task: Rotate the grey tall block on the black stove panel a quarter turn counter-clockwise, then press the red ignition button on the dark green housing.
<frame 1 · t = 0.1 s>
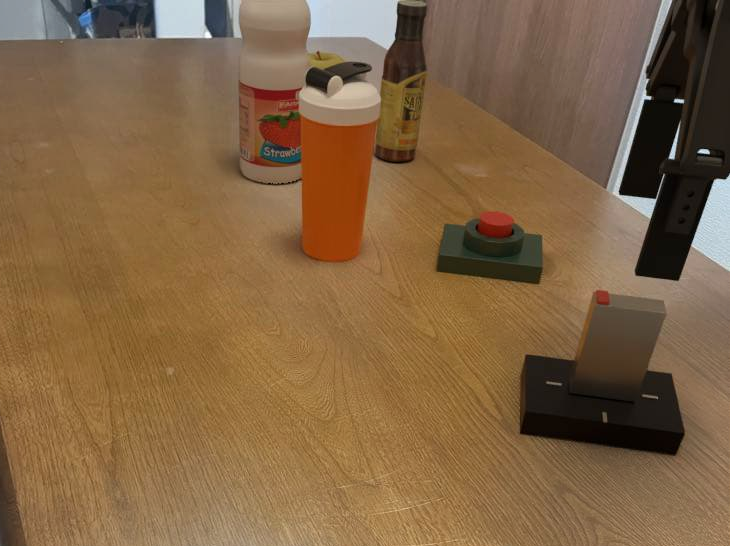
hand: (645, 232, 61), 22 cm above the table, tool pointing down, fingers open, 13 cm apart
shaker bottle: (331, 250, 105), on the table
ignite button: (495, 225, 102), point 4 cm above the table, slide at 0.1 cm
apple: (319, 105, 146), on the table
sauce bottle: (395, 157, 130), on the table
fruit juice: (273, 174, 123), on the table
grey tall block: (615, 347, 77), point 7 cm above the table, hinge at 0.0°
stove panel: (594, 413, 82), on the table
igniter: (488, 261, 105), on the table
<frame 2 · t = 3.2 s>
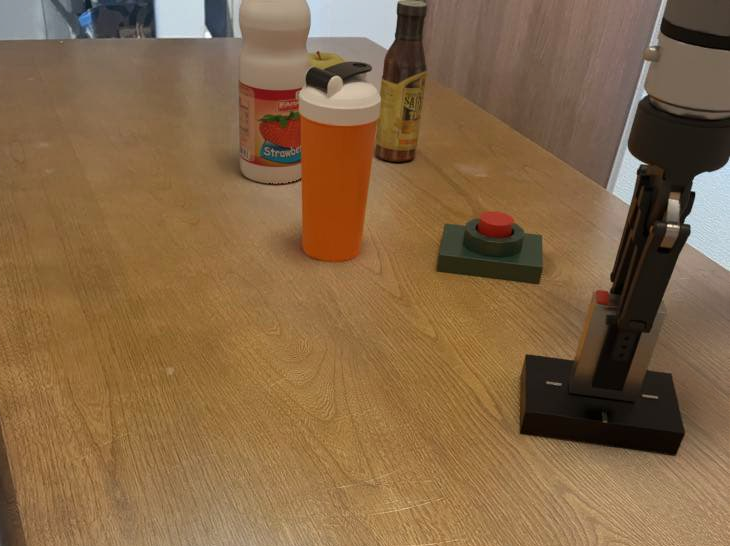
hand: (605, 377, 80), 4 cm above the table, tool pointing down, fingers closed on grey tall block, 2 cm apart
grey tall block: (615, 347, 77), point 7 cm above the table, hinge at 0.0°, touching gripper
everything else where it was.
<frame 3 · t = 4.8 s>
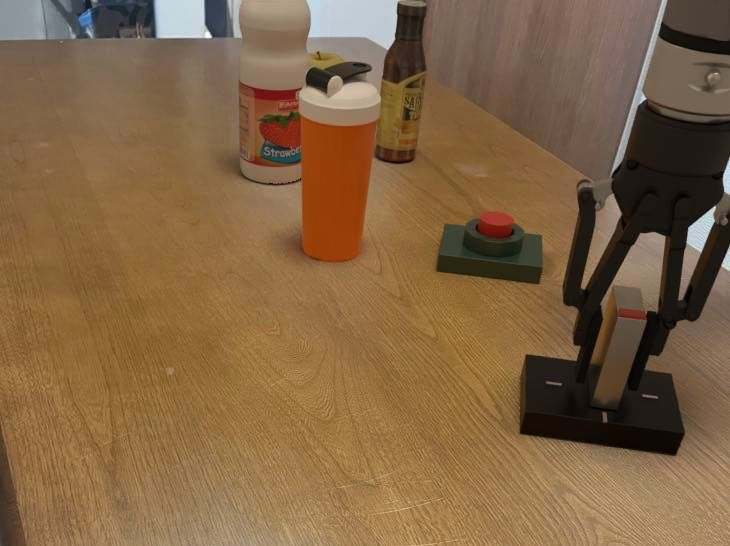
hand: (605, 378, 80), 4 cm above the table, tool pointing down, fingers open, 4 cm apart
grey tall block: (615, 347, 77), point 7 cm above the table, hinge at 89.9°
everything else where it was.
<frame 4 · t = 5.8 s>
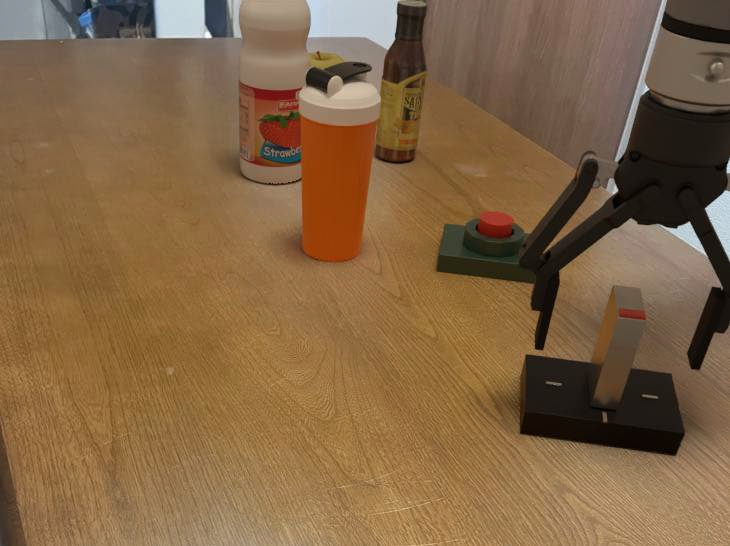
hand: (615, 352, 78), 7 cm above the table, tool pointing down, fingers open, 13 cm apart
nothing on the table moved.
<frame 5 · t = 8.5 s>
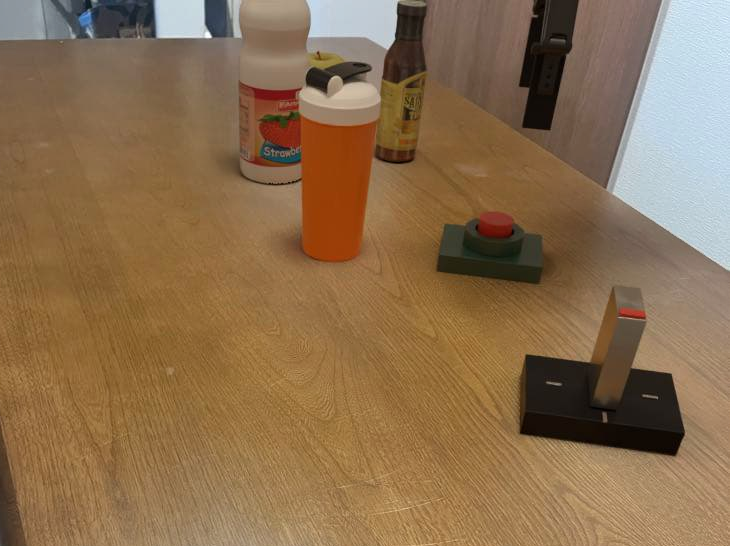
hand: (533, 106, 89), 19 cm above the table, tool pointing down, fingers open, 13 cm apart
nothing on the table moved.
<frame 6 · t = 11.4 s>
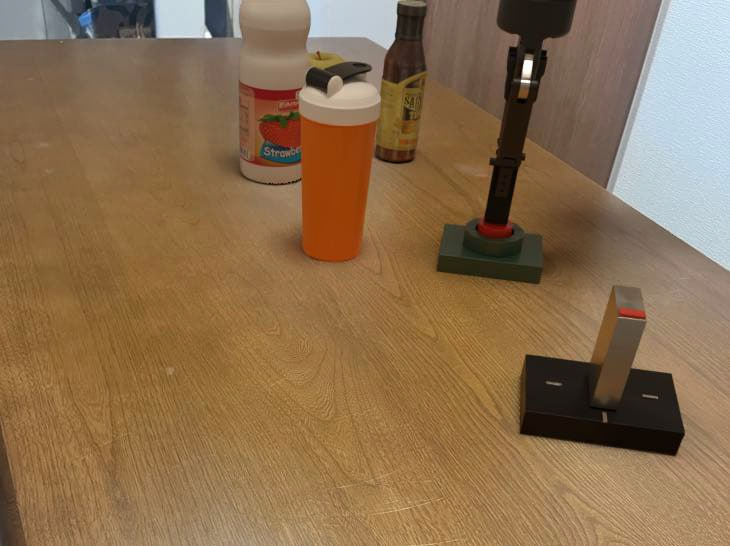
hand: (495, 220, 102), 5 cm above the table, tool pointing down, fingers closed
ignite button: (494, 229, 102), point 4 cm above the table, slide at -0.4 cm, touching gripper
everything else where it was.
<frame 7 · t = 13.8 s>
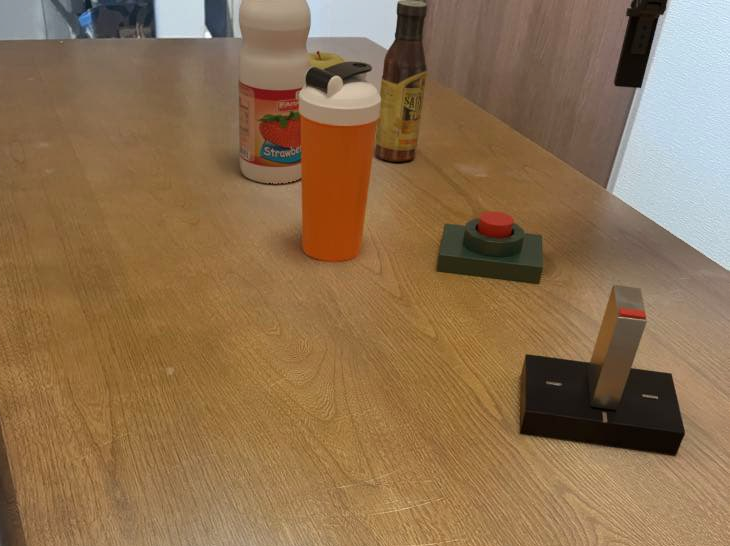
hand: (627, 84, 93), 20 cm above the table, tool pointing down, fingers closed
ignite button: (495, 225, 102), point 4 cm above the table, slide at 0.1 cm
everything else where it was.
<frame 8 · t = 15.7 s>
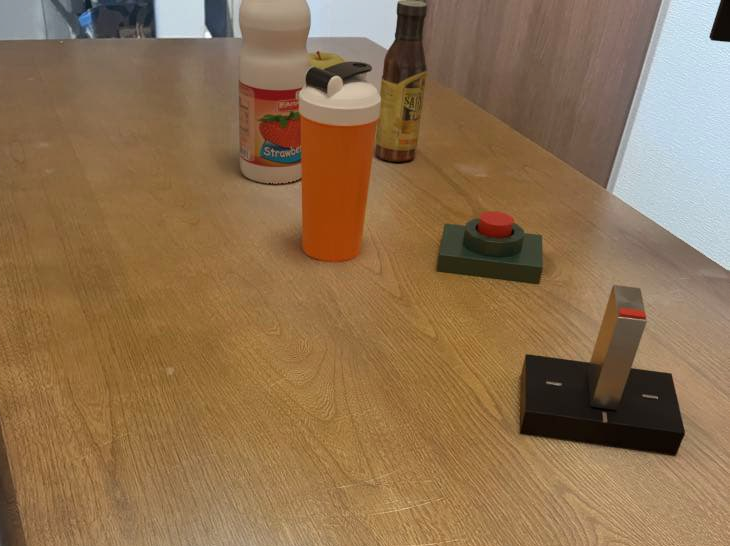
hand: (723, 39, 91), 24 cm above the table, tool pointing down, fingers closed
nothing on the table moved.
at the end: grey tall block at +90° (first picture: +0°); ignite button pushed in 1.0 cm at the most during the clip, back to where it started at the end; ignite button slide at 0.1 cm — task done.
